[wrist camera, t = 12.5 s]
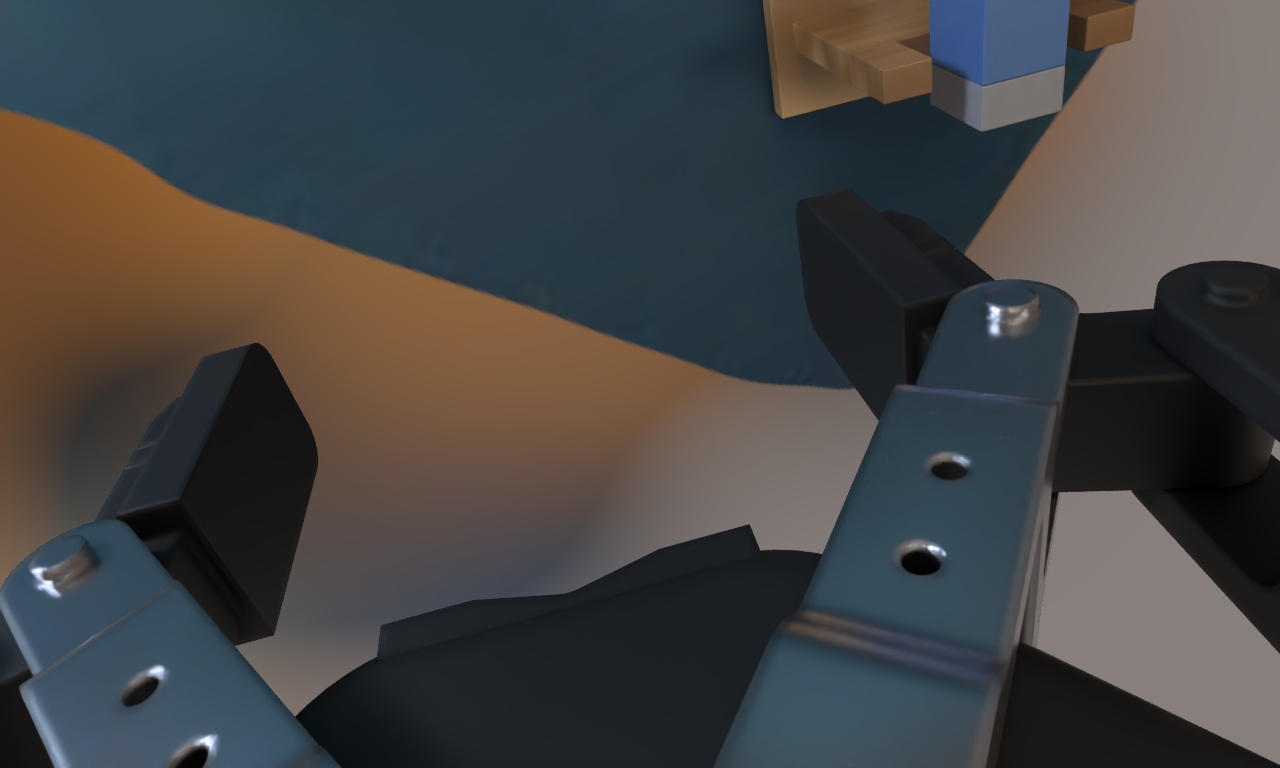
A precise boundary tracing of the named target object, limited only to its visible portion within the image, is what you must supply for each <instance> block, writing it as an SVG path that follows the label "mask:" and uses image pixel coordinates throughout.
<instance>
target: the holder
mask: <svg viewBox="0 0 1280 768" xmlns="http://www.w3.org/2000/svg"><path fill="white" fill-rule="evenodd" d="M763 8H764V17H765V26H766V34H767V43H768V52H769V61H770V70H771V78H772V87H773V96H774V105H775V112H776V113H777V114H778V115H779V116H780V117H781V118H783V119H784V118H788V117H792V116H796V115H800V114H804V113H807V112H811V111H815V110H819V109H823V108H827V107H830V106H834V105H838V104H842V103H846V102H849V101H853V100H857V99H861V98H865V97H869V96H871V97H873V98H874V99H876V100H878V101H879V102H881V103H883V104H888V103H892V102H896V101H900V100H904V99H908V98H911V97H915V96H919V95H923V94H927V93H930V92H932V58H931V57H930V0H763ZM1134 13H1135V5H1133V4H1129V3H1124V2H1120V1H1116V0H1070V10H1069V23H1068V35H1067V46H1068V47H1071V48H1074V49H1078V50H1081V51H1084V52H1086V51H1090V50H1093V49H1097V48H1101V47H1105V46H1109V45H1112V44H1116V43H1120V42H1123V41H1128V40H1130V39H1131V38H1132V30H1133V22H1134Z"/></svg>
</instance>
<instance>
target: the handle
mask: <svg viewBox="0 0 1280 768" xmlns="http://www.w3.org/2000/svg"><path fill="white" fill-rule="evenodd" d="M1069 10H1070V0H930V57H931V58H932V92H930V103H931V105H933V106H935V107H937V108H939V109H941V110H942V111H944V112H946V113H948V114H950V115H952V116H953V117H955V118H957V119H959V120H961V121H963V122H964V123H966V124H968V125H970V126H972V127H974V128H975V129H977V130H979V131H981V132H983V131H987V130H991V129H994V128H998V127H1002V126H1006V125H1009V124H1013V123H1017V122H1021V121H1025V120H1028V119H1032V118H1036V117H1040V116H1044V115H1047V114H1051V113H1055V112H1059V111H1061V110H1062V100H1063V87H1064V74H1065V61H1066V48H1067V35H1068V23H1069Z"/></svg>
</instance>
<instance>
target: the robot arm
mask: <svg viewBox="0 0 1280 768" xmlns="http://www.w3.org/2000/svg"><path fill="white" fill-rule="evenodd" d="M796 220H797V230H798V239H799V248H800V258H801V267H802V276H803V286H804V294H805V301H806V306H807V310H808V314H809V317H810V320H811V323H812V325H813V327H814V330H815V331H816V333H817V335H818V336H819V338H820V339H821V341H822V342H823V343H824V345H825V346H826V348H827V349H828V350H829V352H830V353H831V355H832V356H833V357H834V359H835V360H836V362H837V363H838V364H839V366H840V367H841V369H842V370H843V371H844V373H845V374H846V376H847V377H848V378H849V380H850V381H851V383H852V384H853V385H854V387H855V388H856V390H857V391H858V392H859V394H860V395H861V397H862V398H863V399H864V401H865V402H866V404H867V405H868V406H869V408H870V409H871V411H872V412H873V413H874V415H875V416H876V417H877V419H878V420H879V422H878V425H877V427H876V430H875V432H874V434H873V436H872V439H871V441H870V443H869V446H868V448H867V450H866V453H865V455H864V458H863V460H862V462H861V465H860V467H859V469H858V472H857V474H856V476H855V479H854V481H853V484H852V486H851V488H850V490H849V493H848V495H847V498H846V500H845V502H844V505H843V507H842V509H841V512H840V514H839V516H838V519H837V521H836V523H835V526H834V528H833V531H832V533H831V535H830V538H829V540H828V542H827V545H826V547H825V549H824V552H823V554H819V553H812V552H804V551H797V550H762V551H760V549H759V546H758V544H757V542H756V539H755V537H754V534H753V532H752V529H751V527H750V525H745V526H741V527H738V528H734V529H730V530H727V531H723V532H720V533H716V534H712V535H708V536H705V537H701V538H698V539H694V540H690V541H687V542H683V543H680V544H676V545H672V546H668V547H665V548H662V549H658V550H656V551H655V552H652V553H650V554H648V555H646V556H644V557H642V558H640V559H638V560H637V561H634V562H632V563H630V564H628V565H626V566H624V567H622V568H620V569H618V570H616V571H614V572H612V573H610V574H608V575H606V576H604V577H602V578H600V579H598V580H596V581H593V582H591V583H589V584H587V585H585V586H583V587H581V588H579V589H577V590H575V591H572V592H569V593H565V594H557V595H543V596H528V597H514V598H499V599H484V600H472V601H468V602H465V603H461V604H458V605H453V606H450V607H446V608H443V609H439V610H435V611H432V612H428V613H424V614H421V615H417V616H413V617H410V618H406V619H403V620H399V621H395V622H392V623H388V624H385V625H381V629H380V637H379V645H378V653H377V657H376V658H374V659H372V660H370V661H368V662H366V663H364V664H363V665H361V666H359V667H358V668H356V669H355V670H353V671H351V672H350V673H348V674H346V675H345V676H344V677H342V678H341V679H339V680H338V681H336V682H335V683H334V684H332V685H331V686H330V687H328V688H327V689H326V690H324V691H323V692H322V693H321V694H320V695H318V696H317V697H316V698H315V699H314V700H312V701H311V702H310V703H309V704H308V705H307V706H306V707H305V708H304V709H303V710H302V711H301V712H299V714H298V715H297V716H294V715H293V714H292V713H291V712H290V711H289V709H288V708H287V707H286V706H285V705H284V704H283V702H282V701H281V700H280V699H279V698H278V696H277V695H276V694H275V693H274V692H273V691H272V689H271V688H270V687H269V686H268V685H267V683H266V682H265V681H264V680H263V679H262V678H261V676H260V675H259V674H258V673H257V672H256V671H255V669H254V668H253V667H252V666H251V665H250V664H249V662H248V661H247V660H246V659H245V658H244V657H243V655H242V654H241V653H240V652H239V651H238V649H237V648H236V647H235V646H236V645H240V644H244V643H247V642H251V641H254V640H258V639H262V638H266V637H269V636H273V635H274V633H275V629H276V625H277V621H278V618H279V614H280V610H281V606H282V602H283V599H284V595H285V591H286V587H287V583H288V579H289V575H290V572H291V568H292V564H293V560H294V556H295V552H296V549H297V545H298V541H299V537H300V533H301V529H302V525H303V522H304V518H305V514H306V509H307V506H308V502H309V499H310V494H311V491H312V487H313V483H314V479H315V475H316V472H317V467H318V453H317V447H316V443H315V439H314V436H313V433H312V431H311V429H310V427H309V424H308V422H307V421H306V419H305V417H304V415H303V413H302V412H301V410H300V408H299V406H298V404H297V402H296V400H295V399H294V397H293V395H292V393H291V391H290V389H289V387H288V386H287V384H286V382H285V380H284V378H283V376H282V375H281V373H280V371H279V369H278V367H277V365H276V363H275V362H274V360H273V358H272V357H271V355H270V353H269V352H268V351H267V350H266V348H265V347H263V346H262V345H261V344H259V343H254V344H250V345H246V346H242V347H238V348H234V349H231V350H227V351H223V352H219V353H216V354H212V355H208V356H205V357H203V358H202V359H201V361H200V363H199V364H198V366H197V368H196V370H195V372H194V374H193V375H192V377H191V379H190V381H189V383H188V385H187V386H186V388H185V390H184V392H183V394H182V396H181V397H179V398H177V399H176V400H175V401H173V402H172V403H171V404H170V405H169V406H168V407H167V408H166V409H165V410H164V411H163V412H162V413H161V414H159V415H158V416H157V417H156V418H155V419H154V420H153V421H152V422H151V423H150V425H149V427H148V429H147V430H146V432H145V434H144V436H143V437H142V439H141V441H140V443H139V444H138V448H139V450H136V451H134V453H133V455H132V456H131V458H130V460H129V462H128V464H127V465H126V466H127V470H124V471H123V472H122V474H121V476H120V477H119V479H118V481H117V483H116V484H115V486H114V488H113V489H112V491H111V493H110V495H109V497H108V498H107V500H106V502H105V503H104V505H103V507H102V509H101V511H100V512H99V514H98V516H97V517H96V519H95V521H94V522H90V523H87V524H84V525H81V526H78V527H76V528H73V529H71V530H69V531H66V532H64V533H62V534H60V535H59V536H57V537H55V538H53V539H51V540H50V541H48V542H47V543H45V544H43V545H42V546H40V547H39V548H38V549H36V550H35V551H34V552H32V553H31V554H30V555H28V556H27V557H26V558H25V559H24V560H23V561H21V562H20V563H19V564H18V565H17V566H16V568H15V569H14V570H13V571H12V572H11V573H10V574H9V576H8V577H7V578H6V580H5V582H4V583H3V585H2V586H1V588H0V768H1280V765H1279V764H1276V763H1275V762H1273V761H1270V760H1268V759H1266V758H1264V757H1262V756H1260V755H1258V754H1256V753H1253V752H1252V751H1250V750H1247V749H1245V748H1243V747H1241V746H1239V745H1237V744H1235V743H1233V742H1231V741H1229V740H1226V739H1224V738H1222V737H1220V736H1218V735H1216V734H1214V733H1212V732H1210V731H1208V730H1206V729H1204V728H1202V727H1199V726H1197V725H1195V724H1193V723H1191V722H1189V721H1187V720H1185V719H1183V718H1181V717H1179V716H1177V715H1174V714H1172V713H1170V712H1168V711H1166V710H1164V709H1161V708H1160V707H1158V706H1156V705H1154V704H1151V703H1149V702H1147V701H1145V700H1143V699H1141V698H1139V697H1137V696H1135V695H1132V694H1131V693H1129V692H1126V691H1124V690H1122V689H1120V688H1118V687H1116V686H1114V685H1112V684H1110V683H1108V682H1106V681H1103V680H1101V679H1099V678H1097V677H1095V676H1093V675H1091V674H1089V673H1087V672H1085V671H1083V670H1080V669H1078V668H1076V667H1074V666H1072V665H1070V664H1068V663H1066V662H1064V661H1062V660H1060V659H1058V658H1056V657H1054V656H1051V655H1049V654H1047V653H1045V652H1043V651H1041V650H1039V649H1037V648H1036V646H1037V638H1038V629H1039V622H1040V615H1041V608H1042V601H1043V595H1044V589H1045V583H1046V577H1047V571H1048V565H1049V559H1050V553H1051V547H1052V541H1053V535H1054V529H1055V523H1056V517H1057V511H1058V504H1059V498H1060V492H1082V491H1083V492H1084V491H1120V490H1121V491H1122V490H1131V491H1132V492H1133V494H1134V495H1135V496H1136V497H1137V499H1138V500H1139V501H1140V502H1141V503H1142V504H1143V505H1144V506H1145V507H1146V508H1147V509H1148V511H1149V512H1150V513H1151V514H1152V515H1153V516H1154V517H1155V518H1156V519H1157V520H1158V521H1159V523H1160V524H1161V525H1162V526H1163V527H1164V528H1165V529H1166V530H1167V531H1168V532H1169V533H1170V535H1171V536H1172V537H1173V538H1174V539H1175V540H1176V541H1177V542H1178V543H1179V544H1180V545H1181V547H1182V548H1183V549H1184V550H1185V551H1186V552H1187V553H1188V554H1189V555H1190V556H1191V557H1192V559H1193V560H1194V561H1195V562H1196V563H1197V564H1198V565H1199V566H1200V567H1201V568H1202V569H1203V571H1204V572H1205V573H1206V574H1207V575H1208V576H1209V577H1210V578H1211V579H1212V580H1213V581H1214V583H1215V584H1216V585H1217V586H1218V587H1219V588H1220V589H1221V590H1222V591H1223V592H1224V593H1225V594H1226V596H1227V597H1229V599H1230V600H1231V601H1232V602H1233V603H1234V604H1235V605H1236V606H1237V608H1238V609H1239V610H1240V611H1241V612H1242V613H1243V614H1244V615H1245V616H1246V617H1247V618H1248V620H1249V621H1250V622H1251V623H1252V624H1253V625H1254V626H1255V627H1256V628H1257V629H1258V631H1260V633H1261V634H1262V635H1263V636H1264V637H1265V638H1266V639H1267V640H1268V641H1269V642H1270V643H1271V645H1272V646H1273V647H1274V648H1275V649H1276V650H1277V651H1278V652H1279V653H1280V461H1279V460H1278V459H1276V458H1275V457H1274V456H1273V455H1271V452H1272V448H1273V444H1274V441H1275V439H1276V440H1278V441H1279V442H1280V269H1278V268H1274V267H1270V266H1266V265H1262V264H1257V263H1250V262H1242V261H1208V262H1199V263H1194V264H1189V265H1186V266H1183V267H1179V268H1177V269H1174V270H1172V271H1171V272H1169V273H1167V274H1166V275H1164V276H1163V277H1162V278H1161V279H1160V281H1159V283H1158V285H1157V291H1156V297H1155V303H1154V309H1145V310H1131V311H1117V312H1104V313H1079V308H1078V305H1077V303H1076V301H1075V300H1074V299H1073V297H1071V296H1070V295H1069V294H1068V293H1066V292H1065V291H1063V290H1061V289H1059V288H1057V287H1054V286H1052V285H1048V284H1045V283H1041V282H1036V281H1029V280H1016V279H1014V280H1013V279H1012V280H1011V279H1007V280H994V279H993V278H992V277H991V276H990V275H988V274H987V273H986V272H985V271H983V270H982V269H981V268H980V267H978V266H977V265H976V264H975V263H974V262H972V261H971V260H970V259H969V258H968V257H966V256H965V255H964V254H963V253H961V252H960V251H959V250H958V249H956V250H954V246H953V245H952V244H950V243H949V242H948V241H947V240H945V239H944V238H943V237H939V234H938V233H937V232H936V231H934V230H933V229H932V228H931V227H930V226H928V225H927V224H926V223H925V222H923V221H922V220H921V219H919V218H916V217H913V216H909V215H906V214H903V213H900V212H897V211H894V210H887V211H883V212H880V213H878V212H877V211H876V210H875V209H873V208H872V207H871V206H870V205H869V204H868V203H867V202H866V201H864V200H863V199H862V198H861V197H860V196H859V195H858V194H857V193H855V192H854V191H853V190H852V189H851V188H848V187H847V188H843V189H840V190H836V191H832V192H828V193H825V194H821V195H817V196H813V197H809V198H806V199H802V200H799V201H798V203H797V207H796Z"/></svg>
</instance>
